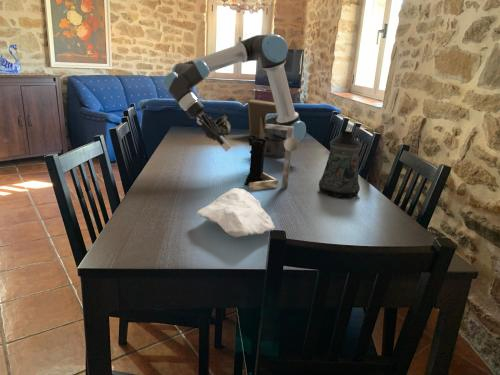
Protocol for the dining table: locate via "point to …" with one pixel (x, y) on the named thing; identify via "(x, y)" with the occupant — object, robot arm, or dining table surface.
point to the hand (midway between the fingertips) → (228, 149)
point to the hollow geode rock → (223, 124)
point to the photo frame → (259, 115)
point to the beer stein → (342, 168)
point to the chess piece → (256, 159)
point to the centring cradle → (289, 146)
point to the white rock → (238, 214)
